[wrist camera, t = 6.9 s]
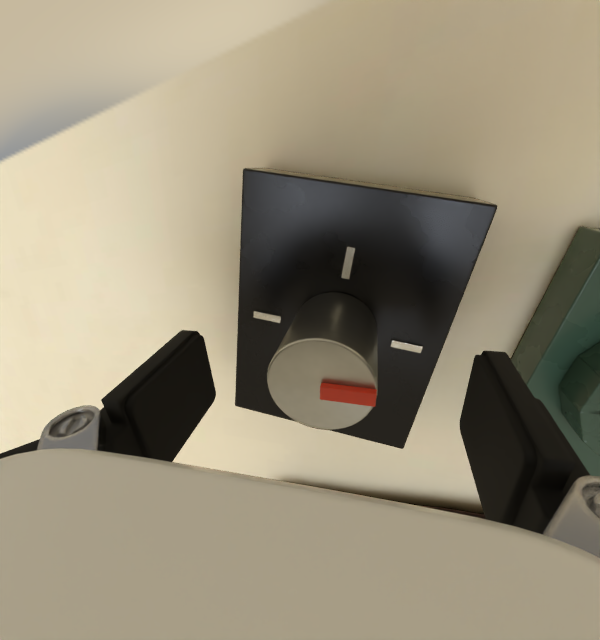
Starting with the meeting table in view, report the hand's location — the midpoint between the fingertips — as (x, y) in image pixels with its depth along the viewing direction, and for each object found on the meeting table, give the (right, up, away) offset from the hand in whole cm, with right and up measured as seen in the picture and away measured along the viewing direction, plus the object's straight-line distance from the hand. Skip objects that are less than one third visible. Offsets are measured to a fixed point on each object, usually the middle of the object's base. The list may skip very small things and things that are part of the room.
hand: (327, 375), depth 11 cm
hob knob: (+1, +1, +4) cm, 5 cm away
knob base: (+1, +3, +7) cm, 8 cm away
